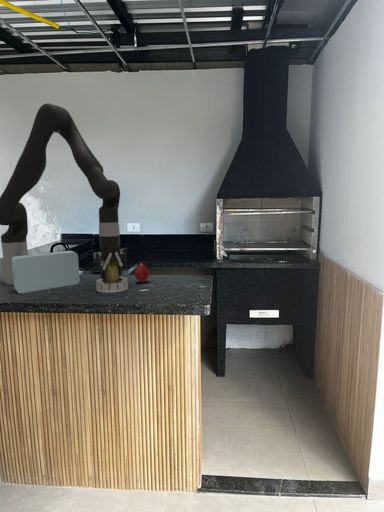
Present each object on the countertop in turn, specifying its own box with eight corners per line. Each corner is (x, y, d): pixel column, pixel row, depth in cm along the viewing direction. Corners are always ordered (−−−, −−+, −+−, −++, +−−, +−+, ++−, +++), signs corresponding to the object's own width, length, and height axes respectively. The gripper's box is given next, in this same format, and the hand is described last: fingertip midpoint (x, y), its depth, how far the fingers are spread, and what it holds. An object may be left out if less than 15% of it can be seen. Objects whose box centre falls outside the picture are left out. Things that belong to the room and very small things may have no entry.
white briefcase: (75, 281, 144) (73, 250, 141) (79, 283, 139) (77, 251, 137) (14, 290, 130) (10, 256, 128) (17, 294, 125) (13, 258, 123)
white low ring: (90, 292, 127) (89, 283, 126) (105, 283, 138) (105, 275, 138) (120, 294, 124) (119, 284, 124) (133, 285, 136) (132, 276, 135)
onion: (142, 280, 144) (142, 261, 143) (152, 282, 141) (151, 263, 139) (132, 282, 140) (131, 263, 138) (141, 285, 136) (141, 265, 135)
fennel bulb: (104, 287, 128) (102, 256, 126) (104, 284, 133) (102, 254, 131) (119, 286, 130) (118, 255, 128) (119, 283, 134) (117, 253, 132)
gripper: (98, 236, 120) (100, 282, 123) (131, 233, 130) (132, 275, 133) (86, 235, 125) (89, 279, 128) (119, 231, 135) (121, 272, 138)
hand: (111, 277), depth 131 cm, fingers closed on fennel bulb, 6 cm apart
